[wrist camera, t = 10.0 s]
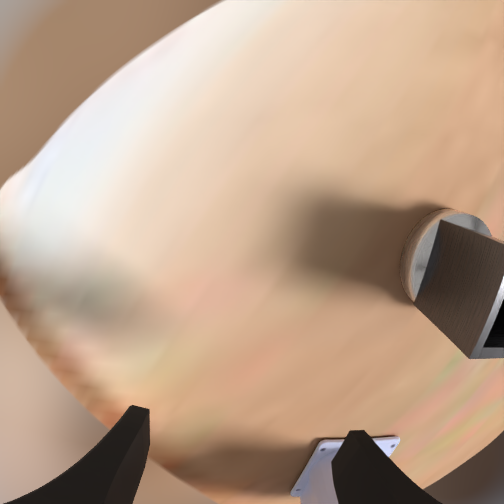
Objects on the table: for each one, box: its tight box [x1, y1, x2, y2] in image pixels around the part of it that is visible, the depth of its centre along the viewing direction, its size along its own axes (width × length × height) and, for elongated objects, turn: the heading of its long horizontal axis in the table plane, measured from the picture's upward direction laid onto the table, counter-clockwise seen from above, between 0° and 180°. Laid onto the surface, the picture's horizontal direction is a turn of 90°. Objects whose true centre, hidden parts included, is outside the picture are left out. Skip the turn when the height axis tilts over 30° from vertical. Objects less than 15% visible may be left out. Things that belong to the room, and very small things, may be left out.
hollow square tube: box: [414, 219, 504, 359], centre depth 13 cm, size 5×5×6 cm
